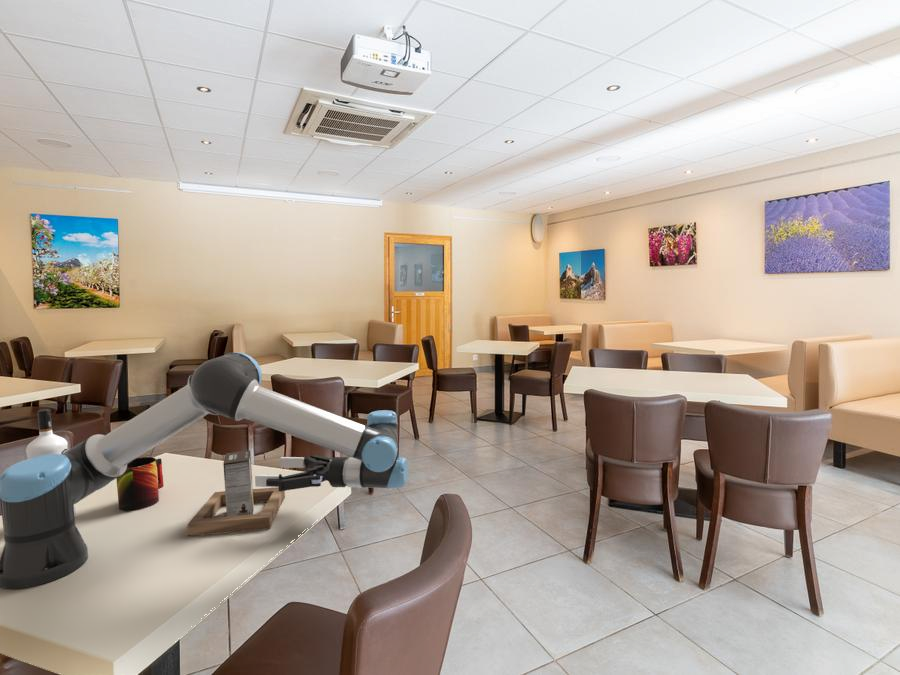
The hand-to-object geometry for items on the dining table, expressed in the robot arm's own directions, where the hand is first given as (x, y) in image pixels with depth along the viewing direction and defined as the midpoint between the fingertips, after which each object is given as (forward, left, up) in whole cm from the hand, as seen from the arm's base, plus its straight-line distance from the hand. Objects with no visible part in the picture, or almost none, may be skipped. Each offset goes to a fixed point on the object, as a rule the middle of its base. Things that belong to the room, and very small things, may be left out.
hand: (268, 471), depth 128 cm
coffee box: (+2, +8, -12) cm, 15 cm away
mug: (+18, +40, -12) cm, 45 cm away
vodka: (+7, +56, -12) cm, 58 cm away
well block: (+2, +8, -12) cm, 15 cm away
